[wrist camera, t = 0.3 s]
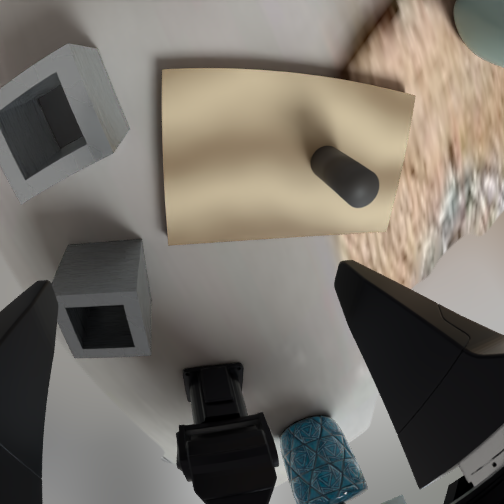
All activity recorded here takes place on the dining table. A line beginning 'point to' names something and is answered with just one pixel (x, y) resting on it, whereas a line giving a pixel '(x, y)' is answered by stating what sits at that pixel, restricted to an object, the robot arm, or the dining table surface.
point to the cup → (482, 28)
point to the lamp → (322, 463)
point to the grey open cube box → (38, 130)
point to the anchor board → (278, 154)
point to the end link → (104, 299)
